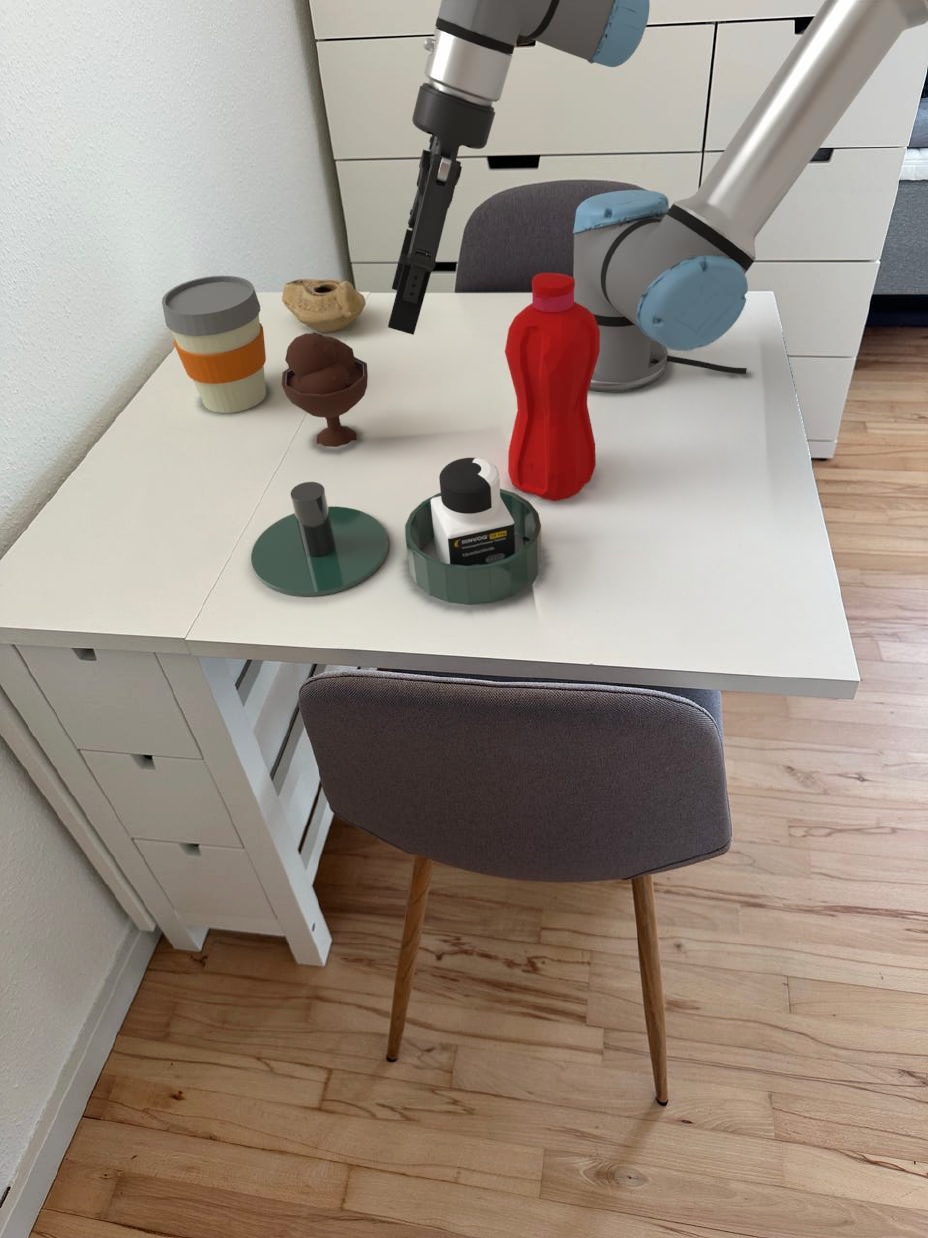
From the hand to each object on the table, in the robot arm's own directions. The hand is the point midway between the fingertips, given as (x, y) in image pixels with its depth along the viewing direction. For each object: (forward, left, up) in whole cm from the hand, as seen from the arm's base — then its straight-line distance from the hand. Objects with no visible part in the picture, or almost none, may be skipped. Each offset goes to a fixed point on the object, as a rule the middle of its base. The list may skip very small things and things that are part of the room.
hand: (402, 309), depth 97 cm
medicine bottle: (-5, +18, -21) cm, 28 cm away
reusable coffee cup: (+26, -24, -21) cm, 41 cm away
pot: (-5, +18, -21) cm, 28 cm away
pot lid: (+12, +14, -20) cm, 28 cm away
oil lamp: (+14, -45, -21) cm, 51 cm away
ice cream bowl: (+11, -10, -21) cm, 26 cm away
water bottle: (-16, +3, -21) cm, 27 cm away
